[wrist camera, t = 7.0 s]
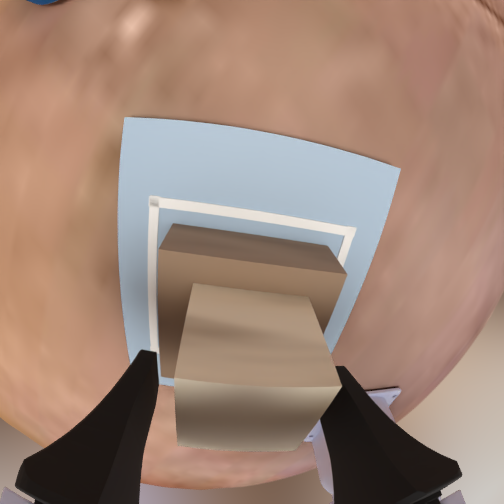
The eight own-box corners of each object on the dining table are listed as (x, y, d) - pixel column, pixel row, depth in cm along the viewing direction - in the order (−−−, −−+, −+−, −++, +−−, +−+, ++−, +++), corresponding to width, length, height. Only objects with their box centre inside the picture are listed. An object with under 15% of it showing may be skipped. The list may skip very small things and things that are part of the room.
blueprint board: (306, 386, 21) (308, 396, 20) (135, 369, 19) (132, 379, 18) (391, 165, 14) (401, 169, 13) (131, 117, 12) (123, 117, 11)
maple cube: (281, 370, 14) (295, 450, 10) (188, 362, 13) (177, 445, 9) (308, 296, 12) (342, 386, 8) (193, 282, 11) (173, 377, 7)
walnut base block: (290, 353, 18) (297, 388, 15) (169, 341, 17) (161, 376, 14) (327, 245, 14) (347, 274, 12) (173, 223, 13) (158, 249, 11)
